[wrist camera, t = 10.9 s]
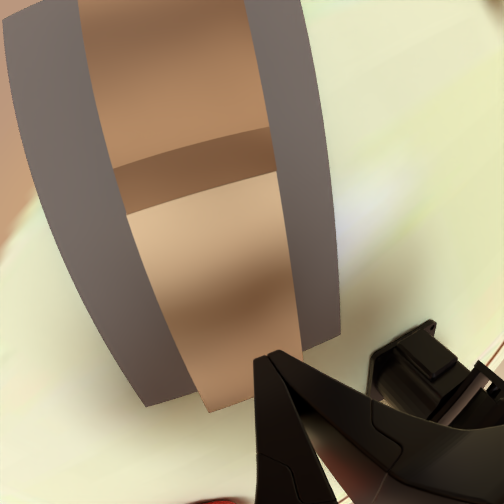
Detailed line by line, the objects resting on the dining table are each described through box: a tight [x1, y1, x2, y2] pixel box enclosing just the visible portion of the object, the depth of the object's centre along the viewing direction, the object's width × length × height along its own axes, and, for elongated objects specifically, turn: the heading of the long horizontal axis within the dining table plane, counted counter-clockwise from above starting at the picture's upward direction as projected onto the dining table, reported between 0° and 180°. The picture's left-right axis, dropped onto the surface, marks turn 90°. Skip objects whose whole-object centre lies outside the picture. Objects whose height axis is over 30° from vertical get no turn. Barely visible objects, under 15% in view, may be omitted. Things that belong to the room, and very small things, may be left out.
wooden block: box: [78, 0, 277, 215], centre depth 9 cm, size 8×5×2 cm, turn 12°
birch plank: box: [126, 171, 303, 413], centre depth 13 cm, size 11×5×2 cm, turn 12°
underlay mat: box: [2, 0, 341, 407], centre depth 13 cm, size 20×12×1 cm, turn 12°
